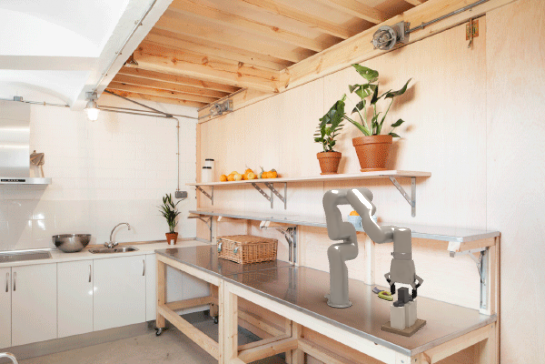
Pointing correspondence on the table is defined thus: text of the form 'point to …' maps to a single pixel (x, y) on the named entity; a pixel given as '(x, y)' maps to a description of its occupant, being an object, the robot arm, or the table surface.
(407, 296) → the grey bar with discs
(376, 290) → the curved yellow hook
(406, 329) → the boxes on tan tray
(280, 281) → the table surface
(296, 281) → the table surface
